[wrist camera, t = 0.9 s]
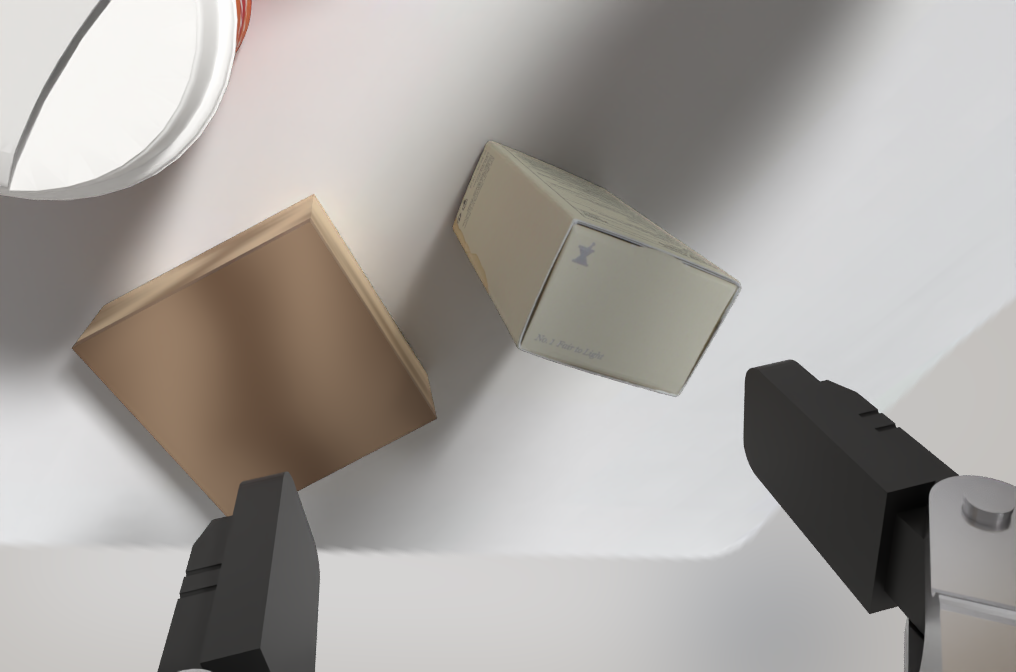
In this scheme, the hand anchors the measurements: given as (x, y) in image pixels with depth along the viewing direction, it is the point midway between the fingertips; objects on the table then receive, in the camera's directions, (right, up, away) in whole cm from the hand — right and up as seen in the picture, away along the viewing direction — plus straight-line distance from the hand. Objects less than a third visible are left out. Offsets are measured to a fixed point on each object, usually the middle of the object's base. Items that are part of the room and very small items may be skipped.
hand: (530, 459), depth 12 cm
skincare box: (+1, +8, +20) cm, 21 cm away
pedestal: (-11, +2, +20) cm, 23 cm away
